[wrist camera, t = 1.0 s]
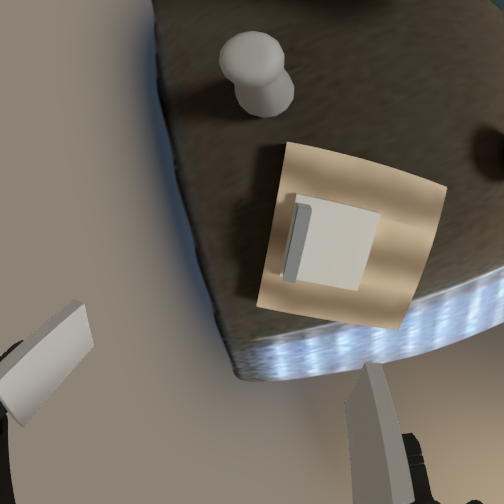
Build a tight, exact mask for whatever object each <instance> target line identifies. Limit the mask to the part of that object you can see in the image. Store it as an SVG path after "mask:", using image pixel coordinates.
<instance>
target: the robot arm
mask: <svg viewBox="0 0 504 504" xmlns="http://www.w3.org/2000/svg"><path fill="white" fill-rule="evenodd" d="M490 1H491V2H492V3H493V4H495V5H496V6H497V7H499V8H500V9H502V10H504V0H490ZM93 347H94V343H93V340H92V336H91V332H90V327H89V323H88V319H87V314H86V310H85V305H84V303H82V302H79V301H77V300H72V301H71V302H70V303H69V304H67V305H66V306H65V307H63V308H62V309H61V310H60V311H59V312H57V313H56V314H55V315H54V316H53V317H51V318H50V319H49V320H48V321H46V322H45V323H44V324H43V325H42V326H40V327H39V328H38V329H37V330H36V331H34V332H33V333H32V334H31V335H30V336H29V337H27V338H26V339H25V340H22V341H19V342H17V343H16V344H14V345H12V346H11V347H10V348H9V349H8V350H7V352H5V353H4V354H3V355H2V357H1V356H0V504H16V503H15V499H14V493H13V487H12V481H11V473H10V463H9V450H8V418H7V415H6V413H7V412H9V414H10V415H11V416H12V418H13V419H14V420H15V421H16V422H17V423H18V424H20V425H21V426H22V427H23V428H25V426H26V425H27V424H28V422H29V421H30V420H31V419H32V417H33V416H34V415H35V414H36V413H37V411H38V410H39V409H40V408H41V406H42V405H43V404H44V403H45V402H46V400H47V399H48V398H49V397H50V395H51V394H52V393H53V392H54V391H55V389H57V387H58V386H59V385H60V384H61V383H62V381H63V380H64V379H65V378H66V377H67V376H68V375H69V373H70V372H71V371H72V370H73V369H74V368H75V367H76V365H77V364H78V363H79V362H80V361H81V360H82V359H83V358H84V357H85V356H86V354H87V353H88V352H89V351H90V350H91V349H92V348H93ZM344 404H345V412H346V420H347V428H348V438H349V450H350V461H351V475H352V493H353V504H440V503H439V502H438V501H435V500H434V499H433V497H432V494H431V490H430V485H429V480H428V476H427V471H426V467H425V465H424V459H423V456H422V451H421V448H420V444H419V442H418V440H417V439H416V438H415V436H414V435H413V433H408V434H401V431H400V427H399V423H398V420H397V415H396V412H395V408H394V405H393V402H392V398H391V394H390V391H389V388H388V385H387V381H386V378H385V375H384V372H383V369H382V366H381V363H368V362H365V364H364V366H363V368H362V370H361V372H360V374H359V376H358V378H357V380H356V382H355V384H354V386H353V388H352V389H351V391H350V393H349V395H348V397H347V398H346V400H345V402H344ZM467 504H483V503H482V502H481V501H478V500H472V501H470V502H468V503H467Z"/></svg>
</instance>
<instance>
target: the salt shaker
mask: <svg viewBox="0 0 504 504" xmlns="http://www.w3.org/2000/svg"><path fill="white" fill-rule="evenodd" d="M219 64H220V67H221V69H222V71H223V73H224V75H225V77H226V78H228V79H229V80H230V81H232V82H233V83H234V84H235V95H236V97H237V100H238V102H239V104H240V106H241V107H242V108H243V109H244V110H246V111H247V112H248V113H249V114H251V115H255V116H259V117H271V116H276V115H278V114H280V113H281V112H283V111H285V110H286V109H287V108H288V106H289V105H290V103H291V102H292V100H293V97H294V85H293V83H292V81H291V78H290V76H289V75H288V73H287V72H286V71H285V69H284V53H283V51H282V49H281V47H280V45H279V43H278V42H277V41H276V40H275V39H274V38H272V37H271V36H269V35H268V34H265V33H261V32H256V31H250V32H244V33H239V34H238V35H236V36H234V37H232V38H231V39H229V40H228V41H227V42H226V44H225V45H224V46H223V48H222V49H221V52H220V59H219Z"/></svg>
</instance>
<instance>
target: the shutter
mask: <svg viewBox="0 0 504 504" xmlns="http://www.w3.org/2000/svg"><path fill="white" fill-rule="evenodd" d="M379 218H380V213H379V212H377V211H373V210H369V209H365V208H361V207H357V206H353V205H349V204H345V203H341V202H336V201H332V200H327V199H323V198H318V197H314V196H309V195H304V194H300V193H296V198H295V203H294V208H293V213H292V218H291V223H290V228H289V233H288V238H287V242H286V247H285V252H284V257H283V261H282V266H281V270H280V276H281V277H283V281H286V282H291V283H295V282H296V280H301V281H306V282H312V283H317V284H322V285H327V286H333V287H338V288H343V289H349V290H354V291H358V288H359V285H360V282H361V279H362V276H363V273H364V270H365V267H366V263H367V260H368V257H369V254H370V250H371V247H372V243H373V240H374V236H375V233H376V229H377V226H378V222H379Z"/></svg>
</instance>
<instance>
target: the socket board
mask: <svg viewBox="0 0 504 504" xmlns="http://www.w3.org/2000/svg"><path fill="white" fill-rule="evenodd" d="M446 190H447V187H445V186H442V185H440V184H437V183H435V182H432V181H429V180H427V179H424V178H421V177H418V176H415V175H413V174H410V173H407V172H404V171H401V170H398V169H394V168H391V167H388V166H385V165H382V164H378V163H375V162H371V161H368V160H364V159H361V158H357V157H353V156H349V155H345V154H341V153H337V152H333V151H329V150H325V149H320V148H316V147H311V146H306V145H301V144H296V143H291V142H287V145H286V151H285V157H284V162H283V168H282V174H281V179H280V185H279V191H278V196H277V202H276V207H275V212H274V218H273V223H272V229H271V234H270V239H269V245H268V250H267V255H266V260H265V266H264V271H263V276H262V281H261V286H260V291H259V296H258V301H257V307H261V308H266V309H271V310H276V311H282V312H287V313H292V314H298V315H303V316H309V317H314V318H320V319H326V320H332V321H338V322H345V323H351V324H358V325H365V326H372V327H379V328H386V329H394V330H398V329H399V327H400V325H401V323H402V321H403V318H404V316H405V314H406V312H407V310H408V307H409V305H410V303H411V300H412V298H413V295H414V293H415V291H416V288H417V286H418V283H419V280H420V278H421V275H422V272H423V270H424V267H425V264H426V261H427V258H428V255H429V252H430V249H431V246H432V243H433V240H434V237H435V233H436V230H437V226H438V223H439V219H440V215H441V211H442V207H443V203H444V199H445V195H446ZM296 193H300V194H304V195H309V196H314V197H318V198H323V199H327V200H332V201H336V202H341V203H345V204H349V205H353V206H357V207H361V208H365V209H369V210H373V211H377V212H379V213H380V218H379V222H378V226H377V229H376V233H375V236H374V240H373V243H372V247H371V250H370V254H369V257H368V260H367V263H366V267H365V270H364V273H363V276H362V279H361V282H360V285H359V288H358V291H354V290H349V289H343V288H338V287H333V286H327V285H322V284H317V283H312V282H306V281H301V280H296V282H295V283H291V282H286V281H283V277H281V276H280V270H281V266H282V261H283V257H284V252H285V247H286V242H287V238H288V233H289V228H290V223H291V218H292V213H293V208H294V203H295V198H296Z"/></svg>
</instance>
